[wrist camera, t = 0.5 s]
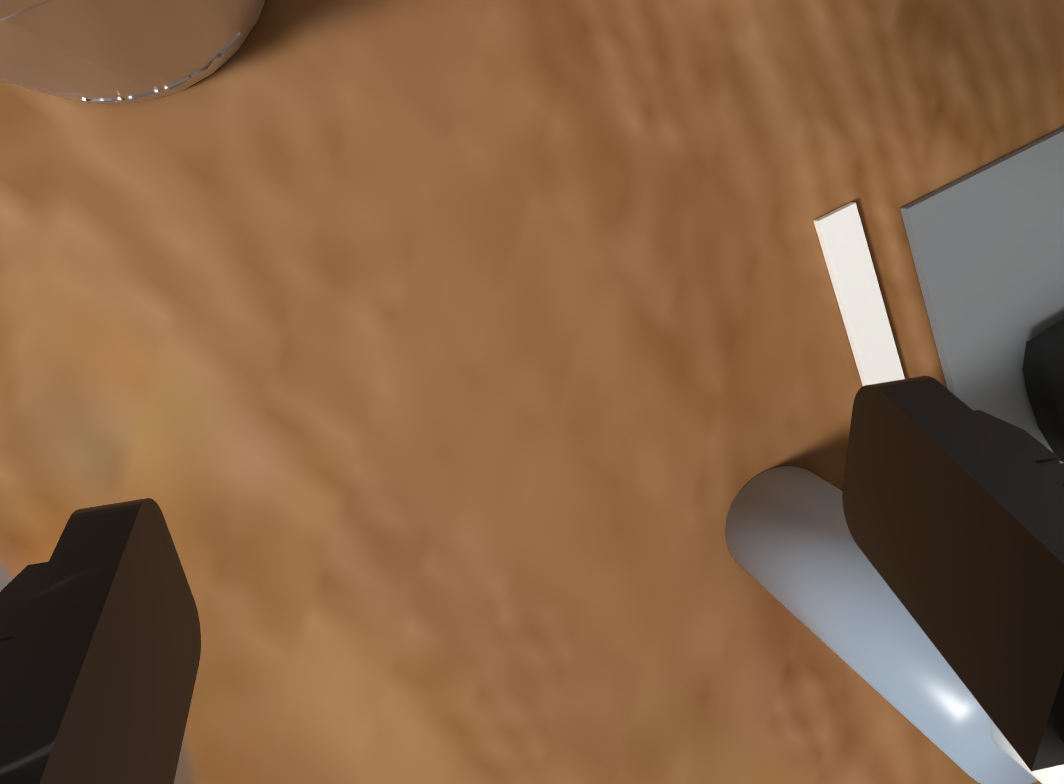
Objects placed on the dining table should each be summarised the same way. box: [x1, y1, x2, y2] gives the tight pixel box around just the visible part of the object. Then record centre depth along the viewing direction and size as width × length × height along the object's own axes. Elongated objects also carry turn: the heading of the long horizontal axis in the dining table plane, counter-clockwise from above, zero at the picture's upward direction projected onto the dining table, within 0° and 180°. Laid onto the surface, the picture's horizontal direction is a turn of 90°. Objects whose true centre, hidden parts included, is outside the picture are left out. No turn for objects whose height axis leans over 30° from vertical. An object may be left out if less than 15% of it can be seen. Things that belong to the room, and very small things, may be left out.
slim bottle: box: [725, 466, 1064, 784], centre depth 26 cm, size 4×4×14 cm
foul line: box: [814, 202, 905, 386], centre depth 33 cm, size 20×2×1 cm, turn 23°
